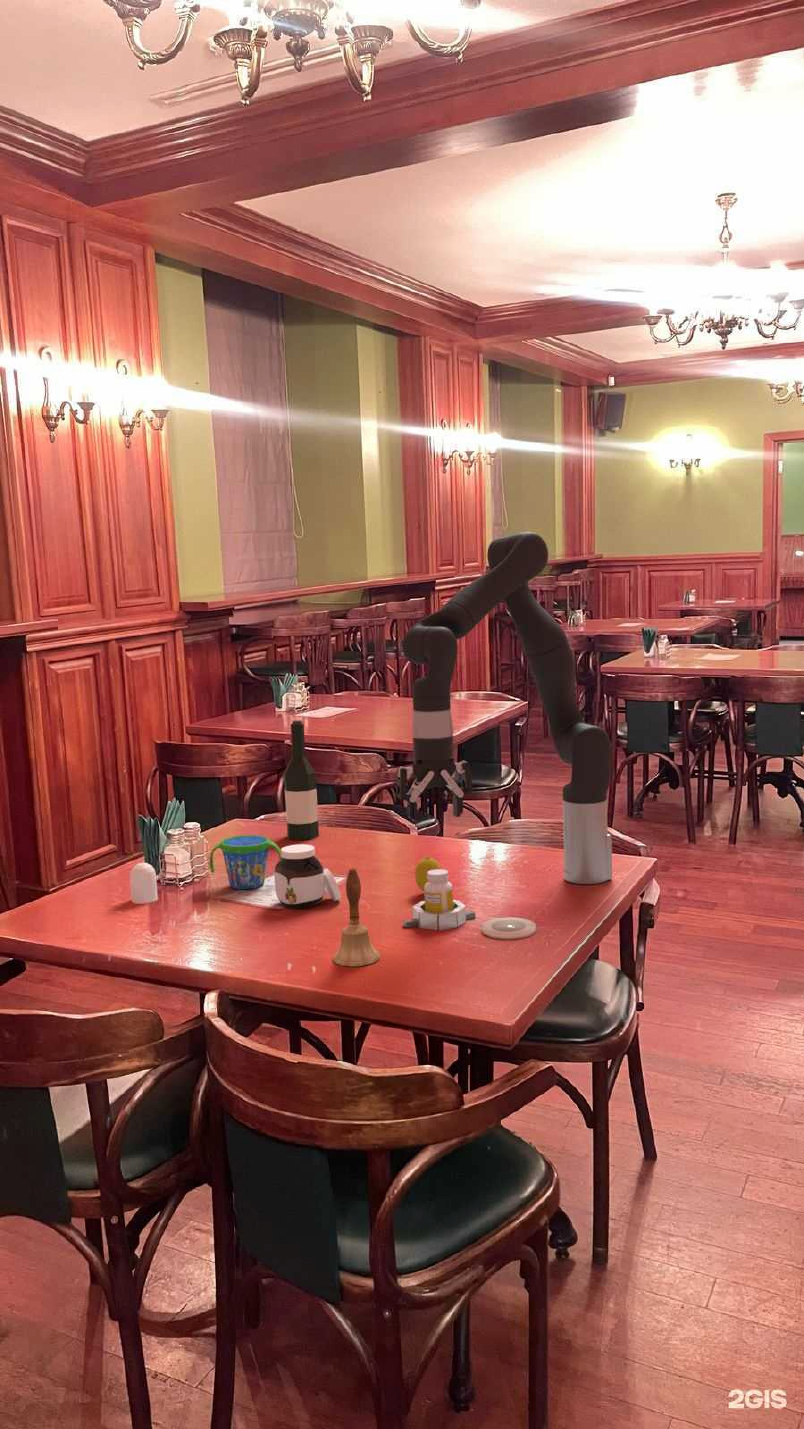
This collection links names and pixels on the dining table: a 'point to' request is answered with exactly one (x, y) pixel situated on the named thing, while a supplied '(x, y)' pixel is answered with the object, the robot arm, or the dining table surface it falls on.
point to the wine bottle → (300, 790)
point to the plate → (508, 928)
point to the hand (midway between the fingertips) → (435, 818)
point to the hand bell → (355, 931)
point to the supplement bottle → (438, 892)
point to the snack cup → (245, 859)
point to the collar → (439, 917)
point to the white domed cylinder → (143, 884)
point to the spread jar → (302, 878)
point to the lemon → (424, 871)
